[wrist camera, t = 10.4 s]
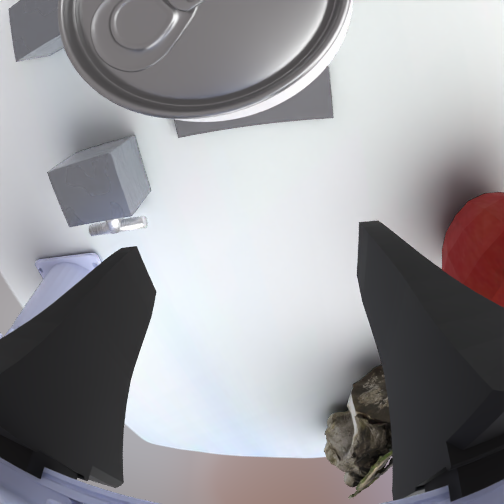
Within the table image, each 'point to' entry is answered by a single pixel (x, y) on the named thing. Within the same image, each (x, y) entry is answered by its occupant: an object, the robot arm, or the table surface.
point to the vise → (89, 160)
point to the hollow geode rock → (362, 433)
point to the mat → (275, 110)
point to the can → (201, 52)
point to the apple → (478, 246)
